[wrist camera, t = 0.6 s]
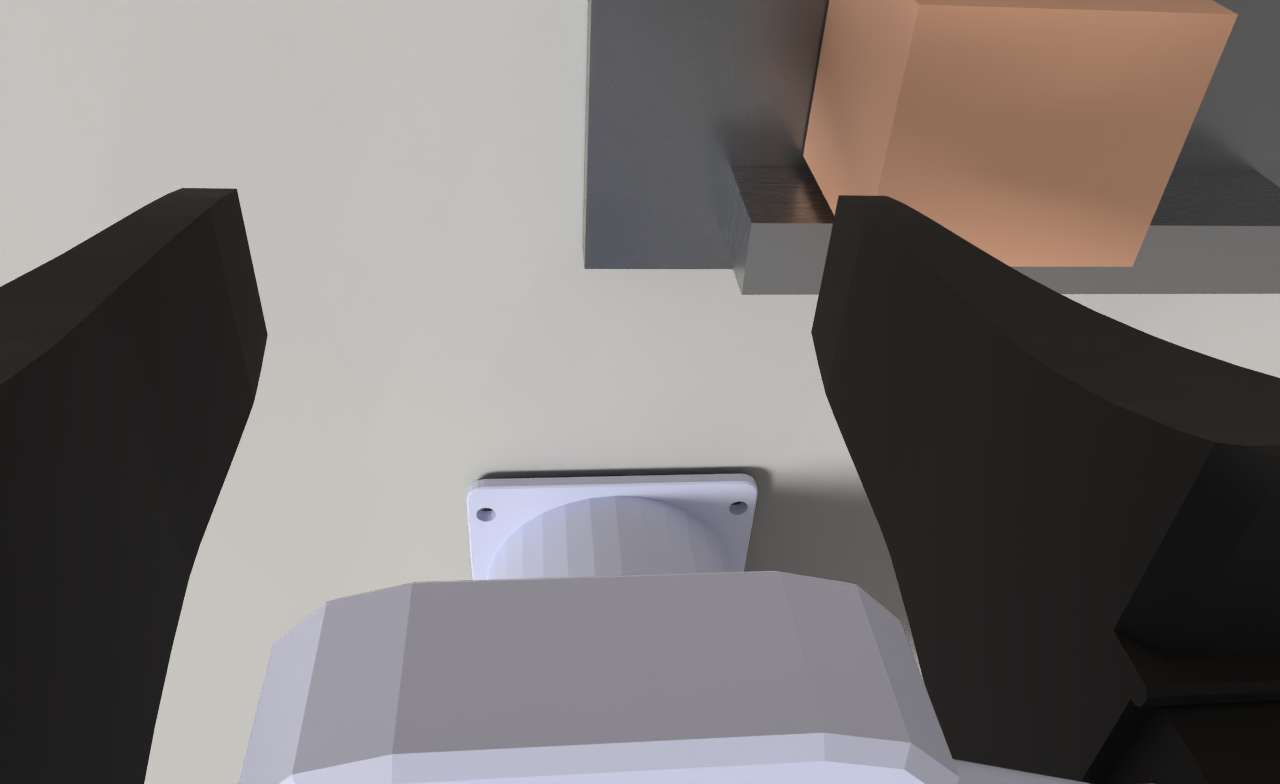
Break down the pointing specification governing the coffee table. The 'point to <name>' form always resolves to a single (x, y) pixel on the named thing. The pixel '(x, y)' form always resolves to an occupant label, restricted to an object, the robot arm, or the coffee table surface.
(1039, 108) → the block
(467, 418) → the coffee table surface
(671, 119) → the chute
